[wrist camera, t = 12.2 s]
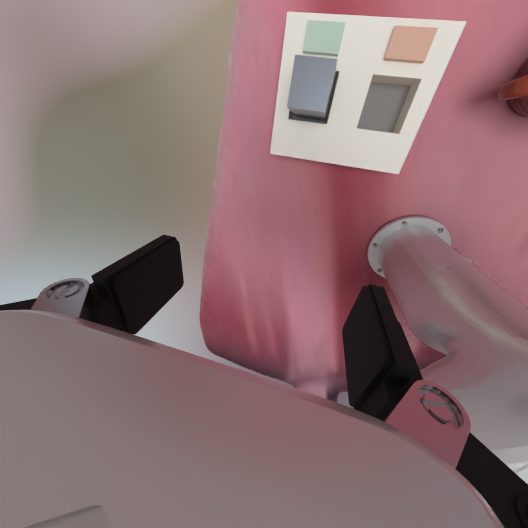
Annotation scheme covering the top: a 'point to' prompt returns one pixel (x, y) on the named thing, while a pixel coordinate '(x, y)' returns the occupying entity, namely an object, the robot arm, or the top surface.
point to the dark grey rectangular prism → (311, 86)
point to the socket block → (363, 86)
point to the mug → (516, 92)
